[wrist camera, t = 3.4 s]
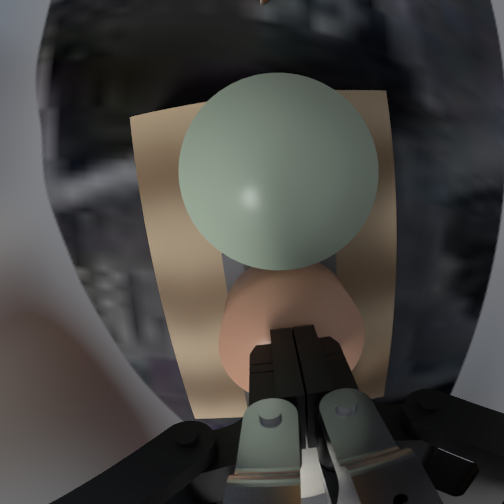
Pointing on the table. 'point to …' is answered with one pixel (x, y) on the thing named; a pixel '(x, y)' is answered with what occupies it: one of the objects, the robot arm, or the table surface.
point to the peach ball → (286, 314)
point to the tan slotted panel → (229, 270)
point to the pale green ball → (278, 171)
